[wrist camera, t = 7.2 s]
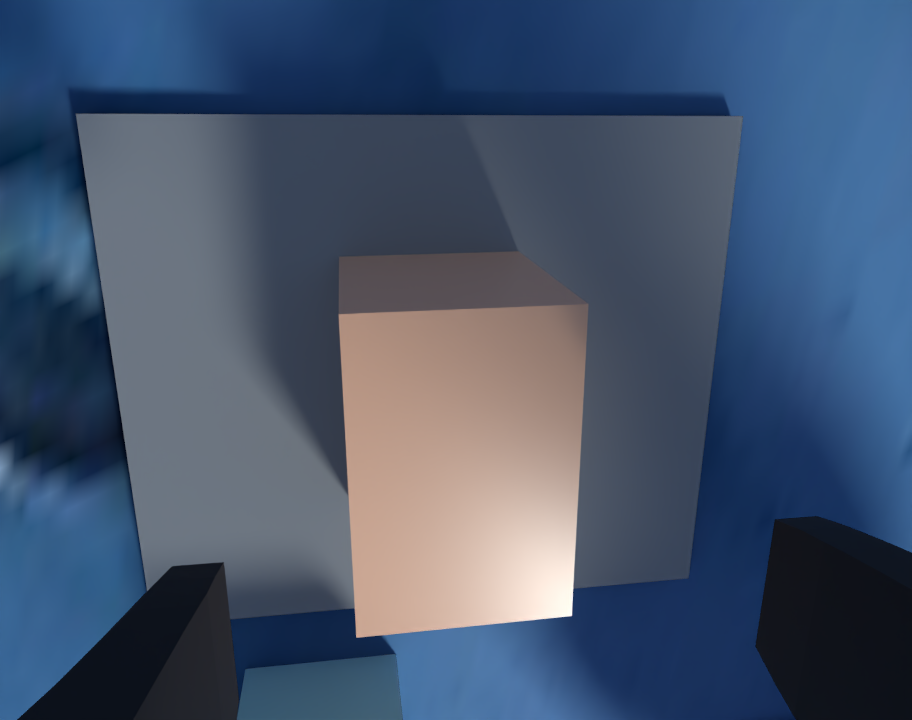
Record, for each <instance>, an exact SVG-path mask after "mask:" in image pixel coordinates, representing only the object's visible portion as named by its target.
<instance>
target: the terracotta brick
mask: <svg viewBox="0 0 912 720" xmlns="http://www.w3.org/2000/svg"><path fill="white" fill-rule="evenodd" d="M587 323H588V303H586V302H585V301H584V300H582V299H581V298H580V297H578V296H577V295H576V294H574V293H573V292H572V291H570V290H569V289H568V288H566V287H565V286H564V285H562V284H561V283H560V282H559V281H557V280H556V279H555V278H553V277H552V276H551V275H549V274H548V273H547V272H545V271H544V270H543V269H541V268H540V267H539V266H537V265H536V264H535V263H533V262H532V261H531V260H529V259H528V258H527V257H525V256H524V255H523V254H521V253H520V252H519V251H513V252H480V253H446V254H413V255H380V256H346V257H339V331H340V349H341V367H342V385H343V403H344V421H345V440H346V458H347V476H348V494H349V512H350V530H351V548H352V566H353V584H354V602H355V620H356V638H359V637H369V636H379V635H389V634H399V633H409V632H419V631H429V630H439V629H448V628H458V627H468V626H478V625H488V624H498V623H508V622H518V621H528V620H538V619H547V618H557V617H567V616H572V602H573V584H574V565H575V546H576V528H577V509H578V491H579V472H580V453H581V435H582V416H583V397H584V379H585V360H586V342H587Z"/></svg>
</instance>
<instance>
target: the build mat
mask: <svg viewBox="0 0 912 720" xmlns="http://www.w3.org/2000/svg"><path fill="white" fill-rule="evenodd" d="M76 118H77V125H78V132H79V138H80V145H81V152H82V158H83V165H84V172H85V179H86V185H87V192H88V199H89V205H90V212H91V219H92V225H93V232H94V239H95V245H96V252H97V259H98V266H99V272H100V279H101V286H102V292H103V299H104V306H105V312H106V319H107V326H108V332H109V339H110V346H111V353H112V359H113V366H114V373H115V379H116V386H117V393H118V399H119V406H120V413H121V419H122V426H123V433H124V440H125V446H126V453H127V460H128V466H129V473H130V480H131V486H132V493H133V500H134V506H135V513H136V520H137V527H138V533H139V540H140V547H141V553H142V560H143V567H144V573H145V580H146V587H147V591H148V590H149V589H150V588H151V587H152V586H153V585H154V584H155V583H156V582H157V581H158V580H159V579H160V578H161V577H162V576H163V575H164V574H165V573H166V572H167V571H168V570H169V569H170V568H171V567H172V566H180V565H193V564H206V563H219V562H224V567H225V576H226V585H227V595H228V604H229V613H230V619H241V618H252V617H263V616H274V615H285V614H296V613H307V612H319V611H330V610H341V609H352V608H355V602H354V584H353V566H352V548H351V530H350V512H349V494H348V476H347V458H346V440H345V421H344V403H343V385H342V367H341V349H340V331H339V257H346V256H380V255H413V254H446V253H480V252H513V251H519V252H520V253H521V254H523V255H524V256H525V257H527V258H528V259H529V260H531V261H532V262H533V263H535V264H536V265H537V266H539V267H540V268H541V269H543V270H544V271H545V272H547V273H548V274H549V275H551V276H552V277H553V278H555V279H556V280H557V281H559V282H560V283H561V284H562V285H564V286H565V287H566V288H568V289H569V290H570V291H572V292H573V293H574V294H576V295H577V296H578V297H580V298H581V299H582V300H584V301H585V302H586V303H588V323H587V342H586V360H585V379H584V397H583V416H582V435H581V453H580V472H579V491H578V509H577V528H576V546H575V565H574V584H573V589H575V588H586V587H598V586H609V585H620V584H631V583H642V582H653V581H664V580H676V579H687V578H689V570H690V562H691V553H692V545H693V536H694V528H695V519H696V511H697V502H698V494H699V486H700V477H701V469H702V460H703V452H704V443H705V435H706V426H707V418H708V409H709V401H710V392H711V384H712V375H713V367H714V358H715V350H716V342H717V333H718V325H719V316H720V308H721V299H722V291H723V282H724V274H725V265H726V257H727V248H728V240H729V231H730V223H731V214H732V206H733V197H734V189H735V181H736V172H737V164H738V155H739V147H740V138H741V130H742V121H743V116H573V115H301V114H76Z"/></svg>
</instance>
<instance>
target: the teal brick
mask: <svg viewBox="0 0 912 720" xmlns="http://www.w3.org/2000/svg"><path fill="white" fill-rule="evenodd" d="M237 720H403V717H402V708H401V698H400V689H399V679H398V669H397V660H396V654H391V655H381V656H371V657H361V658H351V659H341V660H331V661H320V662H310V663H300V664H290V665H280V666H270V667H260V668H250V669H245V674H244V680H243V686H242V692H241V698H240V704H239V709H238V715H237Z"/></svg>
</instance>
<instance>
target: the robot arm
mask: <svg viewBox="0 0 912 720" xmlns="http://www.w3.org/2000/svg"><path fill="white" fill-rule="evenodd" d="M756 648H757V650H758V652H759V654H760V656H761V658H762V660H763V662H764V663H765V665H766V667H767V669H768V671H769V673H770V675H771V677H772V679H773V681H774V682H775V684H776V686H777V688H778V690H779V691H780V693H781V695H782V697H783V698H784V700H785V702H786V703H787V705H788V707H789V709H790V710H791V712H792V714H793V716H794V717H795V719H796V720H912V553H911V552H909V551H906V550H904V549H902V548H899V547H897V546H895V545H892V544H890V543H887V542H885V541H883V540H880V539H878V538H875V537H873V536H870V535H868V534H865V533H863V532H861V531H858V530H855V529H853V528H850V527H848V526H845V525H842V524H839V523H836V522H833V521H830V520H827V519H824V518H821V517H817V516H814V517H801V518H788V519H775V522H774V529H773V535H772V542H771V548H770V555H769V561H768V568H767V574H766V581H765V587H764V594H763V600H762V607H761V613H760V620H759V627H758V633H757V640H756ZM238 703H239V696H238V686H237V677H236V668H235V659H234V650H233V640H232V631H231V622H230V613H229V604H228V595H227V585H226V576H225V567H224V562H219V563H206V564H193V565H180V566H172V567H171V568H170V569H169V570H168V571H167V572H166V573H165V574H164V575H163V576H162V577H161V578H160V579H159V580H158V581H157V582H156V583H155V584H154V585H153V586H152V587H151V588H150V589H149V590H148V591H147V592H146V593H145V594H144V595H143V596H142V597H141V598H140V599H139V600H138V601H137V602H136V603H135V604H134V605H133V607H132V608H131V609H130V610H129V611H128V612H127V613H126V614H125V615H124V616H123V617H122V618H121V619H120V620H119V621H118V622H117V623H116V624H115V625H114V626H113V627H112V628H111V629H110V630H109V631H108V633H107V634H106V635H105V636H104V637H103V638H102V639H101V640H100V641H99V642H98V643H97V644H96V645H95V646H94V647H93V648H92V649H91V650H90V651H89V652H88V653H87V654H86V655H85V656H84V657H83V658H82V659H81V660H80V661H79V662H78V663H77V664H76V665H75V666H74V667H73V668H72V669H71V670H70V671H69V672H68V673H67V674H66V675H65V676H64V677H63V678H62V679H61V680H60V681H59V682H58V683H57V684H56V685H55V686H54V687H52V688H51V689H50V690H49V691H48V692H47V693H46V694H45V695H44V696H43V697H42V698H40V699H39V700H38V701H37V702H36V703H35V704H34V705H33V706H32V707H31V708H30V709H28V710H27V711H26V712H25V713H24V714H23V715H22V716H21V717H20V718H19V719H17V720H237V712H238Z"/></svg>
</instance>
